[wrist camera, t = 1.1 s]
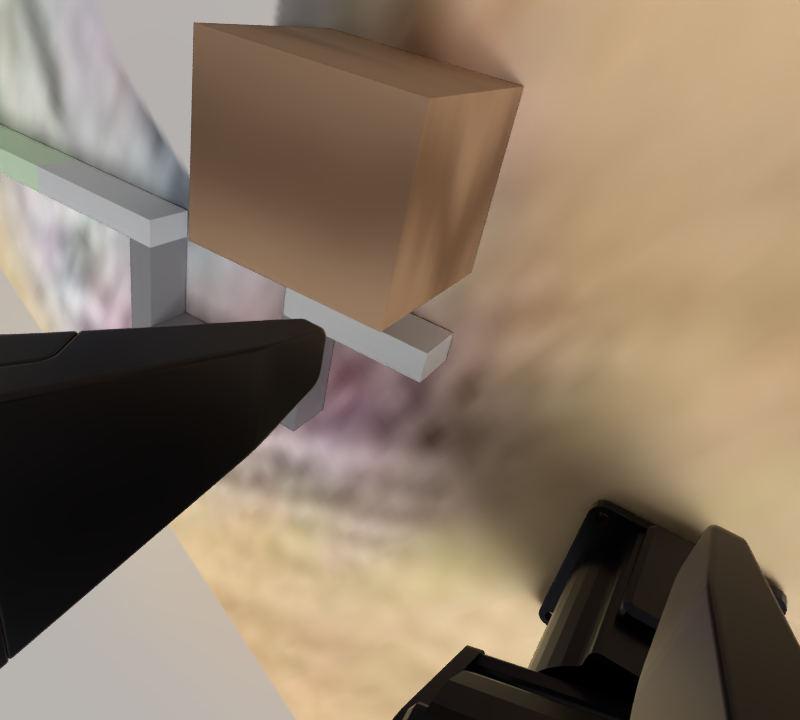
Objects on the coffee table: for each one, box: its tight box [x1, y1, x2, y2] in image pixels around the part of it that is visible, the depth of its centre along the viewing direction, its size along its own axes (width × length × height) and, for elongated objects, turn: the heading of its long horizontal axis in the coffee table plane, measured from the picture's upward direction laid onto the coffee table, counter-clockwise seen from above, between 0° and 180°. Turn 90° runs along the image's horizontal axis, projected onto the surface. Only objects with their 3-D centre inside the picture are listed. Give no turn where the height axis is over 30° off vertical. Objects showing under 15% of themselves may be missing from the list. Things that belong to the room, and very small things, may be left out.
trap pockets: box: [130, 237, 334, 431], centre depth 23 cm, size 23×14×2 cm, turn 166°
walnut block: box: [188, 23, 524, 332], centre depth 19 cm, size 6×7×6 cm
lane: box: [37, 160, 453, 383], centre depth 23 cm, size 13×20×2 cm, turn 76°
